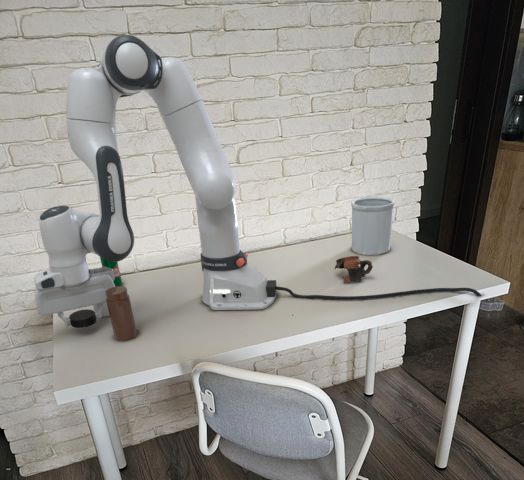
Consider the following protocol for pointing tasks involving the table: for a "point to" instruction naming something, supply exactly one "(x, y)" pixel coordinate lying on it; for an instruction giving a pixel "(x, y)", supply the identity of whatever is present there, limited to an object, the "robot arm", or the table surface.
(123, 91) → the robot arm
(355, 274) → the pottery mug
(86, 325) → the lid
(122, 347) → the table surface
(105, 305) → the white cube
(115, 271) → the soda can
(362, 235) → the utensil holder
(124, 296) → the coffee jar
